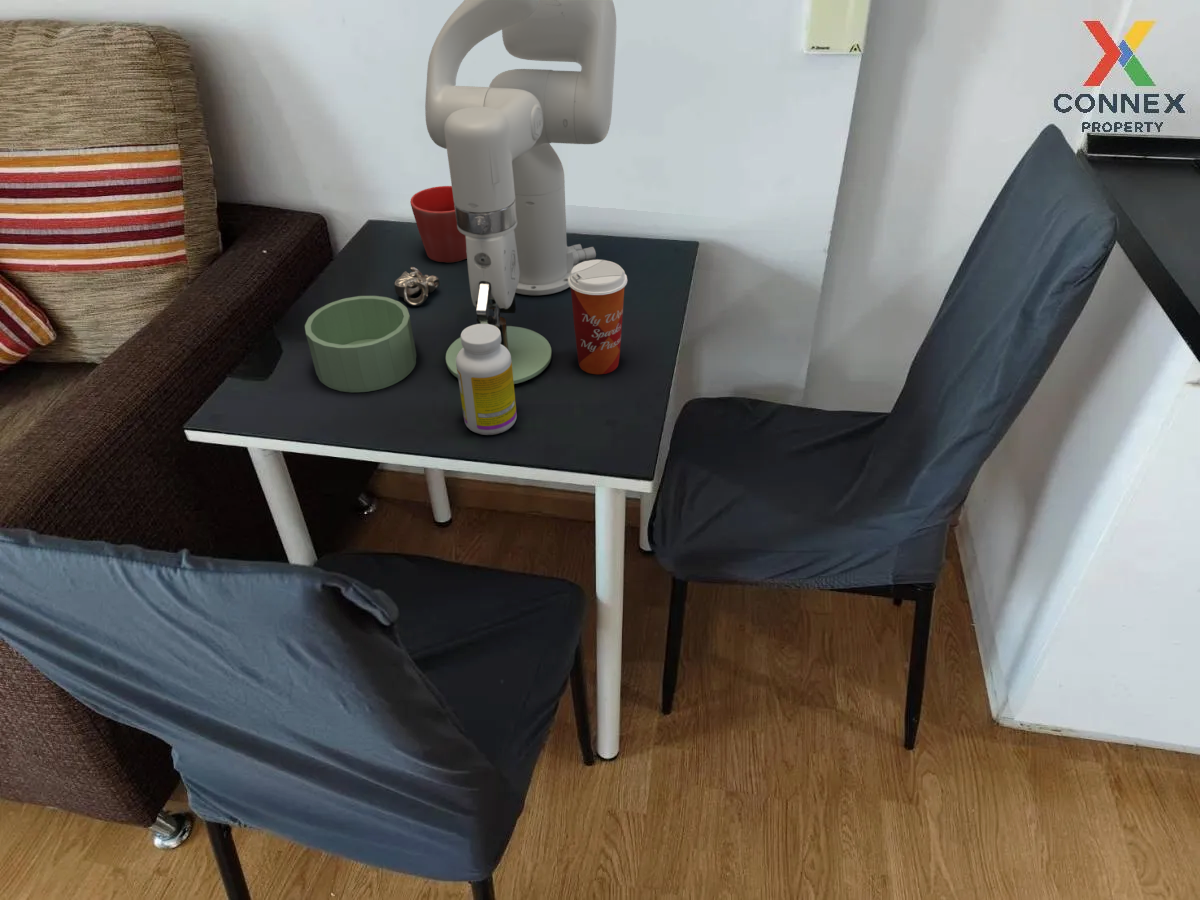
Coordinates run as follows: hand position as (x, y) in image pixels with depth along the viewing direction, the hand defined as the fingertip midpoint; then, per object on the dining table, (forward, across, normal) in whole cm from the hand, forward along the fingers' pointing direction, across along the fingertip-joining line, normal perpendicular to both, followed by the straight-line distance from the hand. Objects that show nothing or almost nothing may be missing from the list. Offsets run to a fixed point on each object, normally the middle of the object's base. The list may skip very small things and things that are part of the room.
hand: (498, 330), depth 118 cm
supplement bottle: (+4, -15, -1) cm, 16 cm away
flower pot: (+5, +31, +14) cm, 35 cm away
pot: (+4, -3, +18) cm, 19 cm away
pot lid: (+4, -1, 0) cm, 4 cm away
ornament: (+5, +16, +16) cm, 23 cm away
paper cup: (+4, -1, -14) cm, 14 cm away
